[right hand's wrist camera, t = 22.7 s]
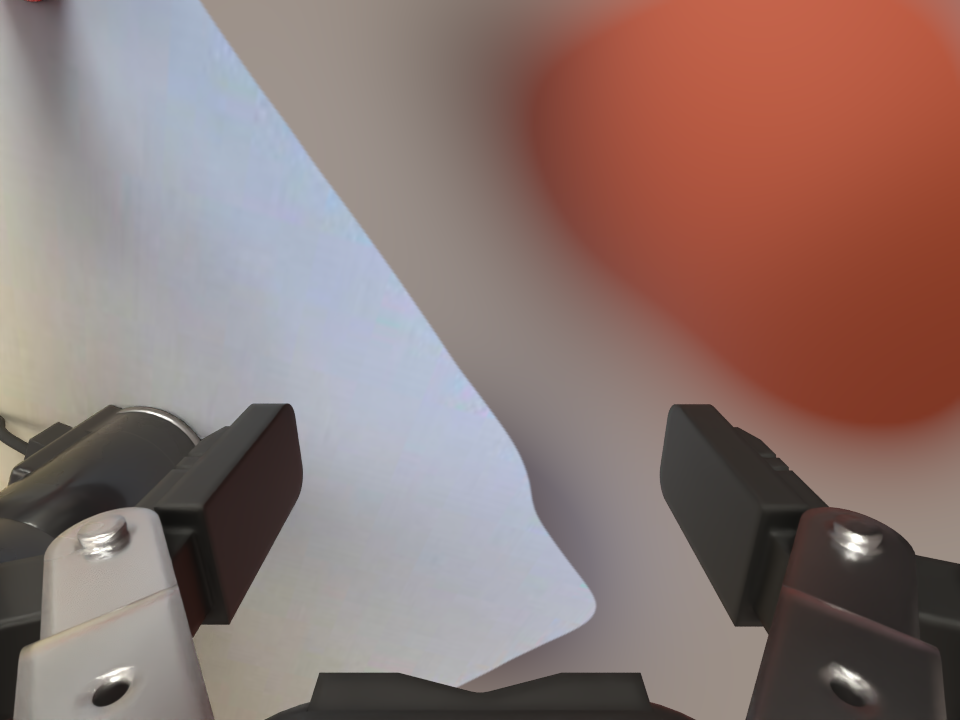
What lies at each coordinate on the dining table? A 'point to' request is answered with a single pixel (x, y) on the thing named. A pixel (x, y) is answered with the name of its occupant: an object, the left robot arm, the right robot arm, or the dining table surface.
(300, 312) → the dining table surface
